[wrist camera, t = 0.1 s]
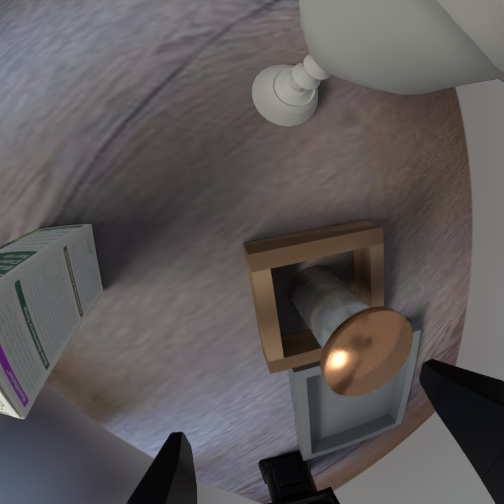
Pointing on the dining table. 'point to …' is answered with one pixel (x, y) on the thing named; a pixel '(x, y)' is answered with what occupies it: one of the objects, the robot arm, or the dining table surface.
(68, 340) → the syrup box
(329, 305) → the glass jar
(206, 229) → the dining table surface
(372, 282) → the square wooden frame
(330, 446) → the tray
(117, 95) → the dining table surface
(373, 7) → the chalice
